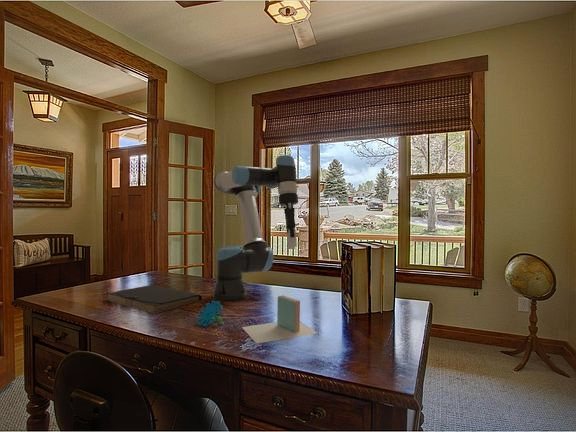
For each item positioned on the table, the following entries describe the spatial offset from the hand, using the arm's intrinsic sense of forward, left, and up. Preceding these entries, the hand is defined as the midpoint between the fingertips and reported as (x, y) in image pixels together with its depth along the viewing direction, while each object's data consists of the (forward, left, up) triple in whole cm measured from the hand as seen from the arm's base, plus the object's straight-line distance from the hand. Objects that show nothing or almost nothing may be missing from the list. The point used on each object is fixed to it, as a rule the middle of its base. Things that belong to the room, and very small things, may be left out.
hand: (292, 247), depth 126 cm
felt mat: (+14, -11, -26) cm, 32 cm away
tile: (+14, -8, -25) cm, 30 cm away
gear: (-1, -31, -26) cm, 40 cm away
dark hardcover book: (-41, -47, -27) cm, 68 cm away
